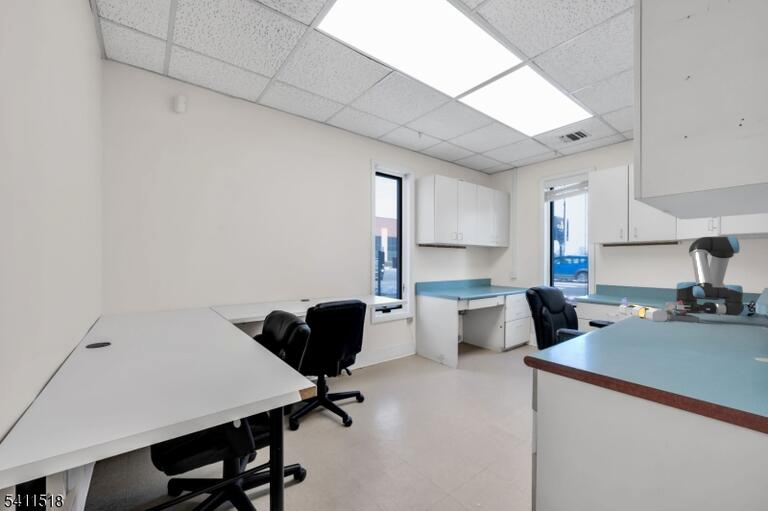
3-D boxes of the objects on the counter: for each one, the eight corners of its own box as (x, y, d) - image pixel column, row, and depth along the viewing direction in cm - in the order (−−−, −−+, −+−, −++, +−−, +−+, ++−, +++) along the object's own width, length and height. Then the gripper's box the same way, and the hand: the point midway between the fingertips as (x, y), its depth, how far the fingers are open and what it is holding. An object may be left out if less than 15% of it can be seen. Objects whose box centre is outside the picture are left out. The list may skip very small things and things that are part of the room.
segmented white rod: (619, 314, 222) (619, 296, 222) (632, 314, 223) (632, 296, 223) (652, 321, 197) (653, 301, 197) (667, 321, 198) (667, 301, 198)
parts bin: (685, 318, 210) (685, 313, 210) (699, 322, 195) (699, 317, 195) (658, 316, 215) (658, 311, 215) (670, 320, 200) (670, 315, 200)
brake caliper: (694, 317, 199) (688, 300, 199) (676, 323, 201) (670, 306, 200) (679, 313, 210) (673, 297, 210) (663, 318, 212) (656, 302, 212)
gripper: (726, 317, 187) (682, 314, 195) (701, 311, 210) (662, 308, 218) (726, 305, 187) (682, 302, 195) (701, 300, 210) (662, 298, 218)
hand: (671, 305), depth 206 cm, fingers open, 12 cm apart
